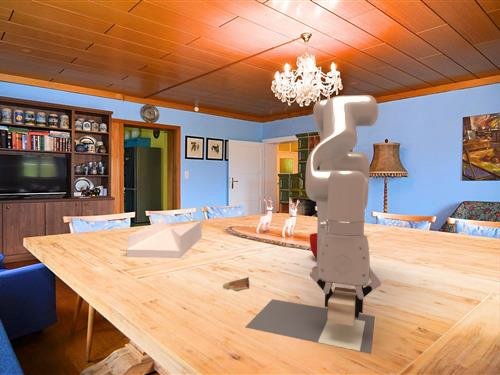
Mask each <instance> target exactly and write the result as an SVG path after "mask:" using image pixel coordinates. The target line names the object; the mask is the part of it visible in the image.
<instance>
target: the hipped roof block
mask: <svg viewBox="0 0 500 375" xmlns="http://www.w3.org/2000/svg"><path fill="white" fill-rule="evenodd" d="M202 222H203V221H201V220H200V221H195V222H189V223H183V224H178V225H173V226H169V225H167V224H166V222H164V221H163V220H159V221H157V222H155V223H153V224H150V225H148V226H146V227H143V228H141V229H139V230H136V231H135V232H131V233H129V234H127V235H126V242H127V243H126V256H127V258H153V259H154V258H156V259H157V258H158V259H182V257H183V256H184V255H185V254H186V253H187V252H189V250H191V249H192V247H194V245H196V243H198V242H199V240H200V239H202V227H203V226H202Z"/></svg>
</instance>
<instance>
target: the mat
mask: <svg viewBox="0 0 500 375" xmlns="http://www.w3.org/2000/svg"><path fill="white" fill-rule="evenodd" d="M327 308H328V307H322V306H315V305H309V304H305V303H304V304H303V303H298V302H293V301H292V302H291V301H285V300H279V299H274V298H273V299H271V300H270V301H269V302H268V303H267V304H266V305H265V306H264V307H263V308H262V309H261V310H260V311H259V312H258V313H257V314H256V315H255V316H254V317H253V318H252V319H251V320H250V322H248V324H246V325H245V328H246V329H252V330H256V331H259V332H260V331H261V332H265V333H271V334H275V335H280V336H284V337H289V338H293V339H299V340H304V341H307V342H308V341H309V342H312V343H318V344H322V345H327V346H331V347H337V348H341V349H346V350H349V351H351V350H352V351H356V352H360V353H365V354H370V355H372V349H373V343H374V342H373V341H374V333H375V331H374V330H375V325H376V324H375V322H376V316H375V315H368V314H363V313H359V317H358V318H356V317H355V321H354V325H353V326H350V325H345V324H339V323H334V322H328V313H327Z"/></svg>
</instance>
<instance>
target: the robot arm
mask: <svg viewBox="0 0 500 375" xmlns="http://www.w3.org/2000/svg"><path fill="white" fill-rule="evenodd" d="M312 112H313V113H312V114H313V119H314V123H315V126H316V128H317V130H318V134H319V138H320V142H318V144H316V145H315V146H314V148H313V149H312V150H311V152H310V153H309V155H308V157H307V160H306V165H305V193H306V196H307V198H309V200H311V201H313V202H316V212H317V214H316V217H317V232H316V233H317V259H316V265H315V266H313V267H312V271H311V273H310V274H309V277H310V278H311V279H312V280H313V281H314V282H315V283H317V285H318V287H320V289H321V290H322V291H323V293H324V308H327V313H328V301H329V299H330V297H331V296H332V294H333V291H334V290H333V289H332V287H333V284H337V285H338V284H339V285H345V286H354V289H356V292H357V295H356V298H355V317H356V318H358V317H359V314H363V310H364V298H365V297H366V296H367V295H369V294H370V293H372V291H374V290H377V289H378V288H380V287H381V285H382V280H380V278H379V277H378V275H377V274H375V272H374V271H373V269H372V268H371V263H370V262H371V261H370V247H369V240H368V236H367V235H366V234H365V209H367V207H368V204H369V189H370V159H369V157H368V155H367V154H366V153H365V152H362V151H353V149H355V147H356V146H357V143H358V132H357V127H373V126H374V125H375V124H376V123H377V120H378V116H379V105H378V102H377V100H376V98H375V97H374V96H372V95H369V94H361V95H359V94H355V95H337V96H333V97H331V98H326V99H322V100H321V99H320V100H318V101H316V103H315V104H314V105H313V111H312ZM318 167H320V168H319V169H318ZM369 281H371V282H370V283H369Z"/></svg>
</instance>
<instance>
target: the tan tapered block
mask: <svg viewBox="0 0 500 375" xmlns="http://www.w3.org/2000/svg"><path fill="white" fill-rule="evenodd" d="M332 291H333V294H332V296H331V297H330V299H329V301H328V307H327V308H328V322H334V323H339V324H345V325H350V326H353V325H354V321H355V298H356V295H357V292H356V288H350V287H349V288H347V287H343V286H342V287H341V286H335V287H333V290H332Z"/></svg>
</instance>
